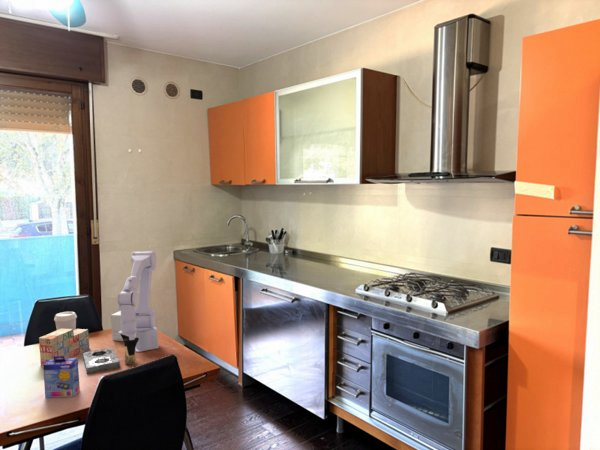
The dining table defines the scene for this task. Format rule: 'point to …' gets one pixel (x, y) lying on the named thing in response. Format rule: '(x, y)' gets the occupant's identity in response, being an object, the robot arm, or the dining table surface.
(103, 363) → the plate
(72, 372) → the ink cartridge box
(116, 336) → the supplement box
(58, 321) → the coffee cup
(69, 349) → the stack of blocks
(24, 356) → the dining table surface
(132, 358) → the gold rounded cylinder
